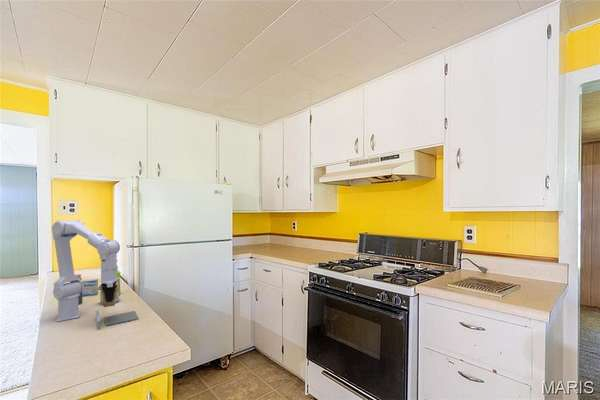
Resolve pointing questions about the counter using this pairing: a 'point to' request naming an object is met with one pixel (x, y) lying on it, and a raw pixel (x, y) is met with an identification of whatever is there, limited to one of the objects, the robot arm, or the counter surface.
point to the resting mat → (120, 318)
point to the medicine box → (90, 287)
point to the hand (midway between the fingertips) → (109, 300)
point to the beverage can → (115, 293)
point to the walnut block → (107, 304)
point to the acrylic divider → (98, 320)
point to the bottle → (80, 293)
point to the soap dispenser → (118, 277)
